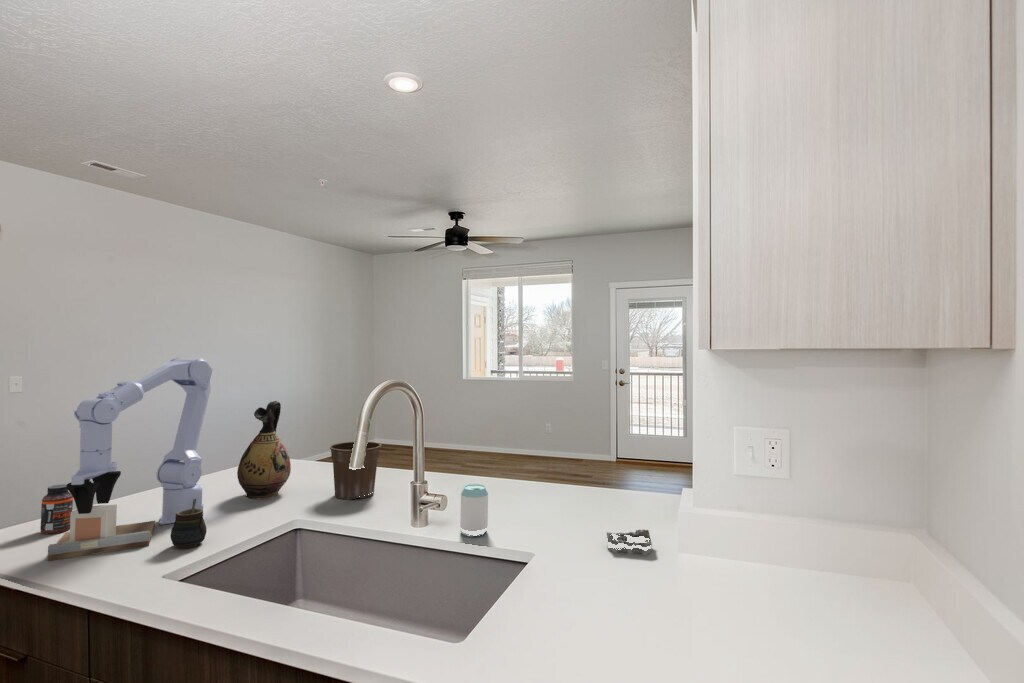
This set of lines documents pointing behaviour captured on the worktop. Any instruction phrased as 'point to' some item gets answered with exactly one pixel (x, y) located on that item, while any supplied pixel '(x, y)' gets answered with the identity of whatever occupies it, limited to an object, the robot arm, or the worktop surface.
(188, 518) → the mate gourd
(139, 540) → the rail
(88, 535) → the carton
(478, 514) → the can
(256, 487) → the ceramic jug
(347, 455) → the plant pot
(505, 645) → the worktop surface
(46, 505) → the supplement bottle
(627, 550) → the egg carton
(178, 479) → the robot arm
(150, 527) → the brown flat panel
